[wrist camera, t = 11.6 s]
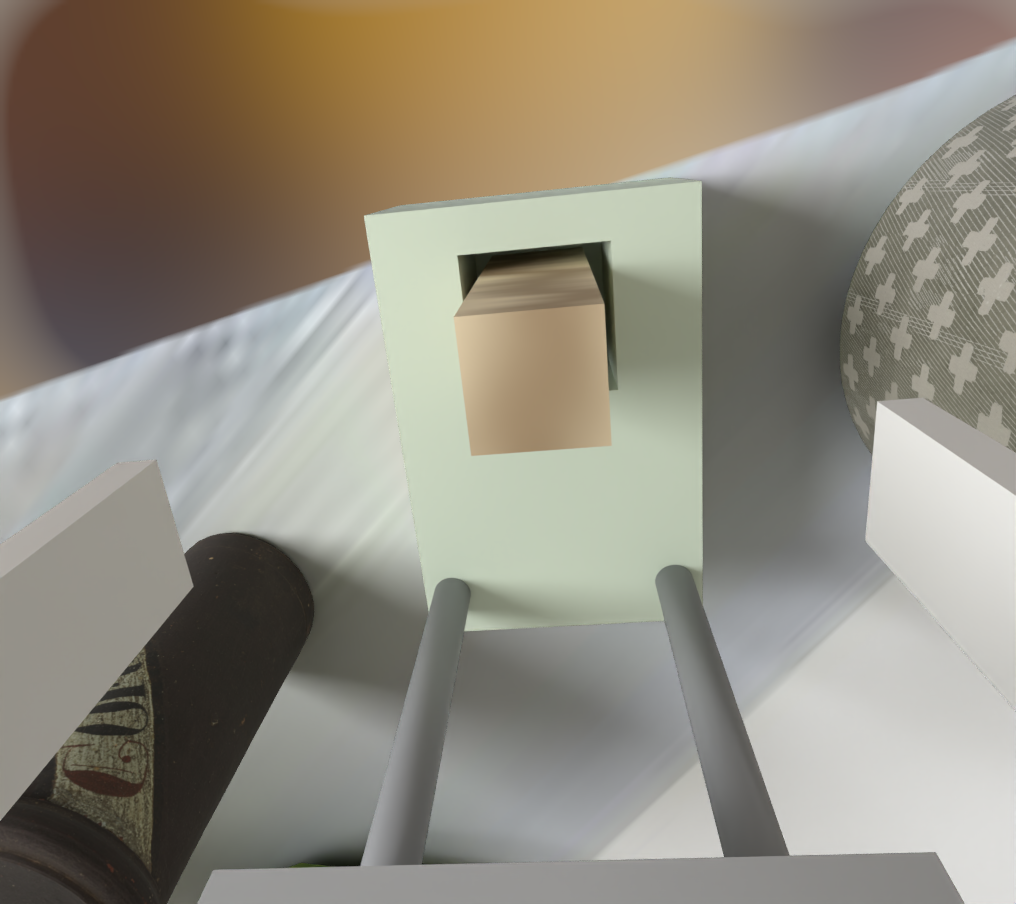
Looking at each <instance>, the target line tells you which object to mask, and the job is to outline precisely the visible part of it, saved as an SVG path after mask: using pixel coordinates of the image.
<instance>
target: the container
mask: <svg viewBox="0 0 1016 904" xmlns="http://www.w3.org/2000/svg"><path fill="white" fill-rule="evenodd" d="M184 555H185V559H186V562H187V566H188V569H189V572H190V576H191V579H192V583H193V586H194V587H193V588H192V589H191V590H190V591H189V593H188V594H187V595H186V596H185V597H184V599H183V600H182V601H181V602H180V604H179V605H178V606H177V607H176V608H175V610H174V611H173V612H172V613H171V614H170V616H169V617H168V618H167V619H166V621H165V622H164V623H163V624H162V625H161V627H160V628H159V629H158V630H157V631H156V633H155V634H154V635H153V636H152V638H151V639H150V640H149V641H148V642H147V644H146V645H145V646H144V647H143V648H142V650H141V651H140V652H139V653H138V654H137V656H136V657H135V658H134V659H133V661H132V662H131V663H130V664H129V665H128V667H127V668H126V669H125V670H124V671H123V673H122V674H121V675H120V676H119V678H118V679H117V680H116V681H115V682H114V684H113V685H112V686H111V687H110V688H109V690H108V691H107V692H106V693H105V695H104V696H103V697H102V698H101V699H100V701H99V702H98V703H97V704H96V705H95V707H94V708H93V709H92V710H91V711H90V713H89V714H88V715H87V716H86V718H85V719H84V720H83V721H82V722H81V724H80V725H79V726H78V727H77V728H76V730H75V731H74V732H73V733H72V735H71V736H70V737H69V738H68V739H67V741H66V742H65V743H64V744H63V745H62V747H61V748H60V749H59V750H58V752H57V753H56V754H55V755H54V756H53V758H52V759H51V760H50V761H49V762H48V764H47V765H46V766H45V767H44V768H43V770H42V771H41V772H40V773H39V775H38V776H37V777H36V778H35V779H34V781H33V782H32V783H31V784H30V785H29V787H28V788H27V789H26V790H25V792H24V793H23V794H22V795H21V796H20V798H19V799H18V800H17V801H16V802H15V804H14V805H13V806H12V807H11V809H10V810H9V811H8V812H7V813H6V815H5V816H4V817H3V818H2V819H1V821H0V904H167V902H168V900H169V898H170V896H171V894H172V892H173V890H174V888H175V886H176V884H177V882H178V880H179V878H180V876H181V874H182V872H183V870H184V868H185V867H186V865H187V863H188V861H189V859H190V857H191V855H192V853H193V851H194V849H195V847H196V845H197V843H198V842H199V840H200V838H201V836H202V834H203V832H204V830H205V828H206V826H207V824H208V823H209V821H210V819H211V817H212V815H213V813H214V811H215V809H216V808H217V806H218V804H219V802H220V800H221V798H222V797H223V795H224V793H225V791H226V789H227V787H228V785H229V783H230V781H231V780H232V778H233V776H234V774H235V772H236V770H237V768H238V766H239V765H240V763H241V761H242V759H243V757H244V755H245V753H246V751H247V749H248V747H249V745H250V743H251V741H252V740H253V738H254V736H255V734H256V732H257V730H258V729H259V727H260V725H261V723H262V721H263V719H264V717H265V716H266V714H267V712H268V710H269V708H270V706H271V704H272V703H273V701H274V699H275V697H276V695H277V693H278V691H279V689H280V688H281V686H282V684H283V682H284V680H285V679H286V677H287V675H288V673H289V671H290V670H291V668H292V666H293V664H294V662H295V661H296V659H297V657H298V655H299V653H300V651H301V649H302V647H303V645H304V643H305V641H306V639H307V637H308V635H309V633H310V630H311V627H312V623H313V617H314V606H313V599H312V595H311V592H310V590H309V587H308V585H307V582H306V581H305V579H304V577H303V575H302V573H301V572H300V571H299V569H298V568H297V567H296V566H295V564H294V563H293V562H292V561H291V560H290V559H289V558H288V557H287V556H285V555H284V554H283V553H282V552H281V551H279V550H278V549H276V548H275V547H273V546H271V545H270V544H268V543H266V542H264V541H261V540H259V539H256V538H253V537H250V536H245V535H241V534H234V533H225V534H217V535H213V536H210V537H207V538H205V539H203V540H200V541H199V542H197V543H196V544H195V545H194V546H193V547H191V548H190V549H189V550H188V551H187V552H186V553H185V554H184Z"/></svg>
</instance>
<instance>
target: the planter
mask: <svg viewBox="0 0 1016 904" xmlns="http://www.w3.org/2000/svg"><path fill="white" fill-rule="evenodd" d="M840 370H841V379H842V385H843V390H844V394H845V399H846V403H847V406H848V409H849V412H850V414H851V417H852V420H853V423H854V425H855V427H856V429H857V431H858V433H859V435H860V437H861V439H862V440H863V442H864V443H865V445H866V447H867V448H868V450H869V451H870V453H871V454H872V456H873V445H874V433H875V422H876V410H877V401H887V400H899V399H912V398H924V399H926V400H927V401H929V402H931V403H933V404H934V405H936V406H938V407H939V408H941V409H943V410H944V411H946V412H948V413H949V414H951V415H953V416H954V417H956V418H958V419H960V420H961V421H963V422H965V423H966V424H968V425H970V426H971V427H973V428H975V429H976V430H978V431H980V432H982V433H983V434H985V435H987V436H988V437H990V438H992V439H993V440H995V441H997V442H998V443H1000V444H1002V445H1003V446H1005V447H1007V448H1009V449H1010V450H1012V451H1014V452H1015V453H1016V95H1014V96H1013V97H1011V98H1009V99H1007V100H1006V101H1004V102H1002V103H1001V104H999V105H997V106H996V107H994V108H992V109H990V110H989V111H987V112H986V113H984V114H983V115H981V116H980V117H979V118H977V119H976V120H974V121H973V122H971V123H970V124H969V125H967V126H966V127H964V128H963V129H962V130H960V131H959V132H958V133H957V134H956V135H954V136H953V137H952V138H951V139H950V140H948V141H947V142H946V143H945V144H944V145H942V146H941V147H940V148H939V149H938V150H937V151H936V152H935V153H934V154H933V155H932V156H931V157H930V158H929V159H928V160H927V161H926V162H925V163H924V164H923V165H922V166H921V167H920V168H919V169H918V170H917V171H916V173H915V174H914V175H913V176H912V177H911V178H910V179H909V181H908V182H907V183H906V184H905V185H904V186H903V188H902V189H901V190H900V192H899V193H898V194H897V196H896V197H895V198H894V200H893V201H892V202H891V204H890V205H889V206H888V208H887V209H886V211H885V213H884V214H883V216H882V217H881V219H880V221H879V222H878V224H877V225H876V227H875V229H874V230H873V232H872V234H871V236H870V238H869V240H868V242H867V244H866V246H865V248H864V250H863V252H862V254H861V257H860V259H859V262H858V264H857V267H856V269H855V272H854V274H853V277H852V280H851V284H850V287H849V290H848V294H847V297H846V301H845V306H844V311H843V316H842V323H841V333H840Z"/></svg>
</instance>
